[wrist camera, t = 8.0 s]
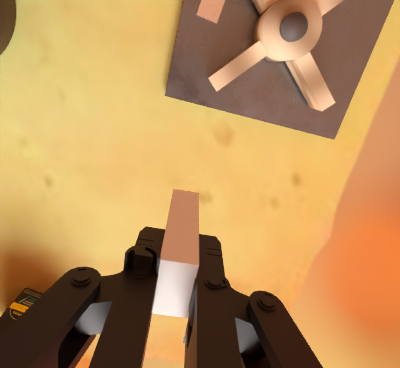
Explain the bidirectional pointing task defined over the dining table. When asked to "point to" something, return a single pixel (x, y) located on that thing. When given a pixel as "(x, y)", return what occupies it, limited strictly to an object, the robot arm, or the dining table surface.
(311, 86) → the capstan
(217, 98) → the stand
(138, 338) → the robot arm
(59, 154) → the dining table surface
